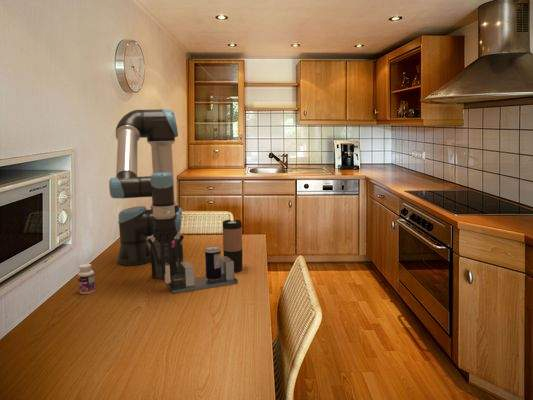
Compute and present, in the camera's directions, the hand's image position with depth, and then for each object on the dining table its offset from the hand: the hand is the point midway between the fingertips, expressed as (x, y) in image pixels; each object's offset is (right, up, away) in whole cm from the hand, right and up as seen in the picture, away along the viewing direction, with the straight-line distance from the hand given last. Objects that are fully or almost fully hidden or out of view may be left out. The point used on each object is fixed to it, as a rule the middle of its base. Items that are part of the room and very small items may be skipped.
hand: (167, 281), depth 166 cm
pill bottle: (-29, -4, 0) cm, 29 cm away
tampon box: (-3, 0, +17) cm, 18 cm away
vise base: (+12, -2, +5) cm, 13 cm away
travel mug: (+22, +1, +22) cm, 31 cm away
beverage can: (+16, 0, +7) cm, 17 cm away
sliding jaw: (+5, -1, +2) cm, 5 cm away
